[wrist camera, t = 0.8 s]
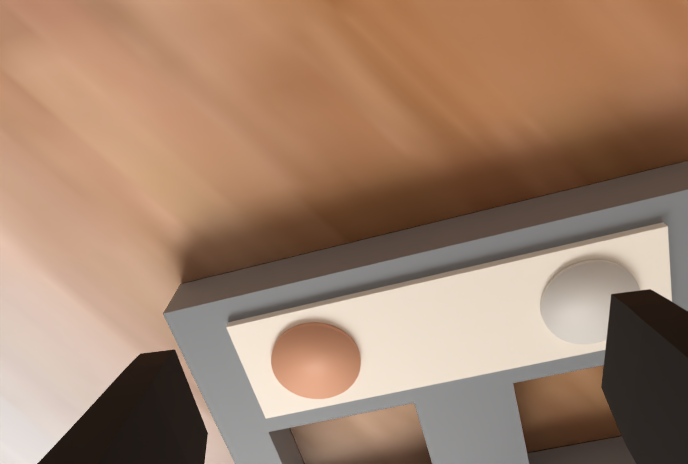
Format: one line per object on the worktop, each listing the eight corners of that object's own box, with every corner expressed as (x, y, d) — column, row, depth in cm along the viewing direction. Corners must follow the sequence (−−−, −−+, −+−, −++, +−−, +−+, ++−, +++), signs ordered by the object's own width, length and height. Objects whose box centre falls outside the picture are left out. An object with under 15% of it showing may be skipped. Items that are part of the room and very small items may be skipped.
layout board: (705, 470, 24) (742, 523, 21) (297, 540, 26) (290, 594, 24) (695, 159, 18) (743, 184, 16) (180, 284, 21) (157, 322, 18)
